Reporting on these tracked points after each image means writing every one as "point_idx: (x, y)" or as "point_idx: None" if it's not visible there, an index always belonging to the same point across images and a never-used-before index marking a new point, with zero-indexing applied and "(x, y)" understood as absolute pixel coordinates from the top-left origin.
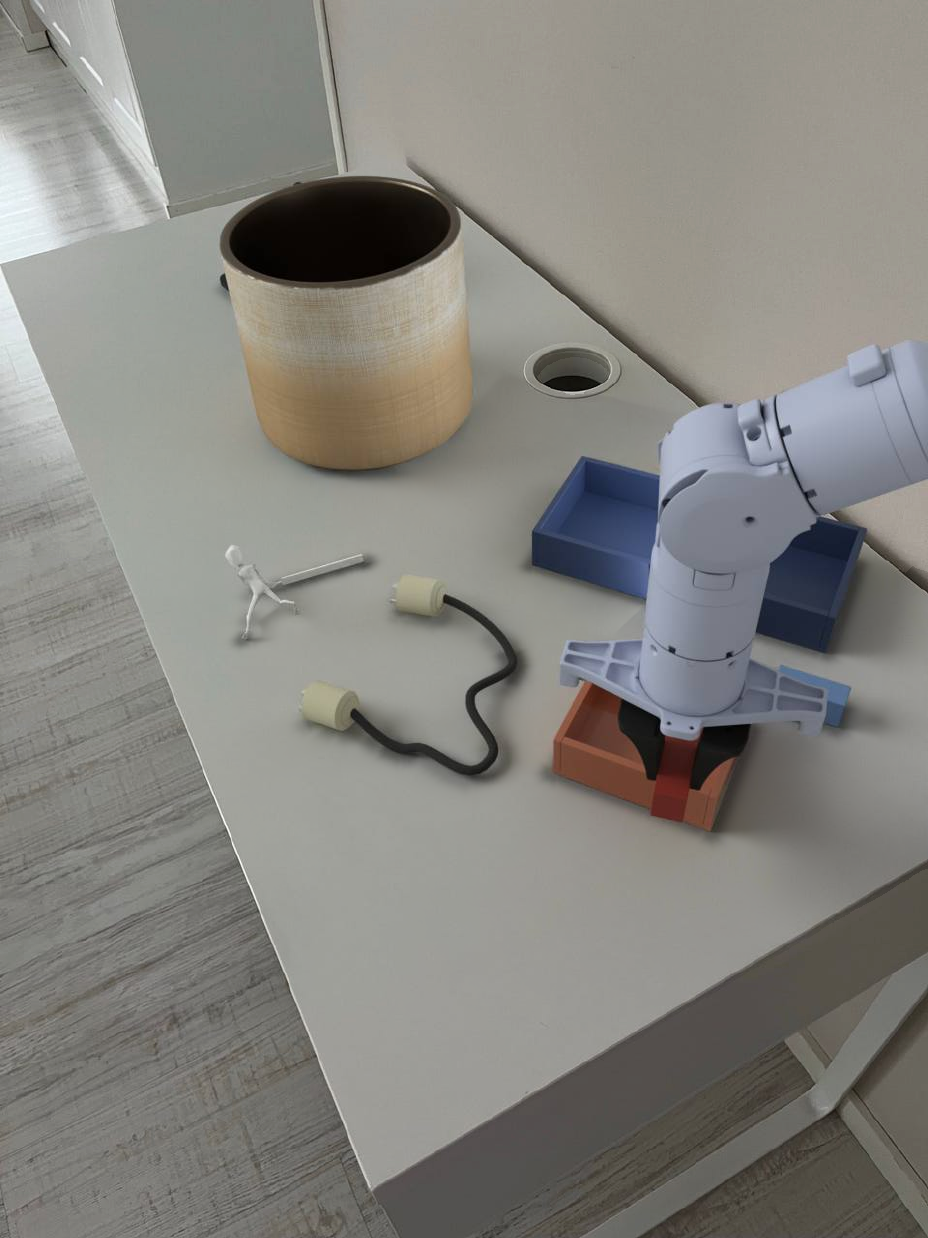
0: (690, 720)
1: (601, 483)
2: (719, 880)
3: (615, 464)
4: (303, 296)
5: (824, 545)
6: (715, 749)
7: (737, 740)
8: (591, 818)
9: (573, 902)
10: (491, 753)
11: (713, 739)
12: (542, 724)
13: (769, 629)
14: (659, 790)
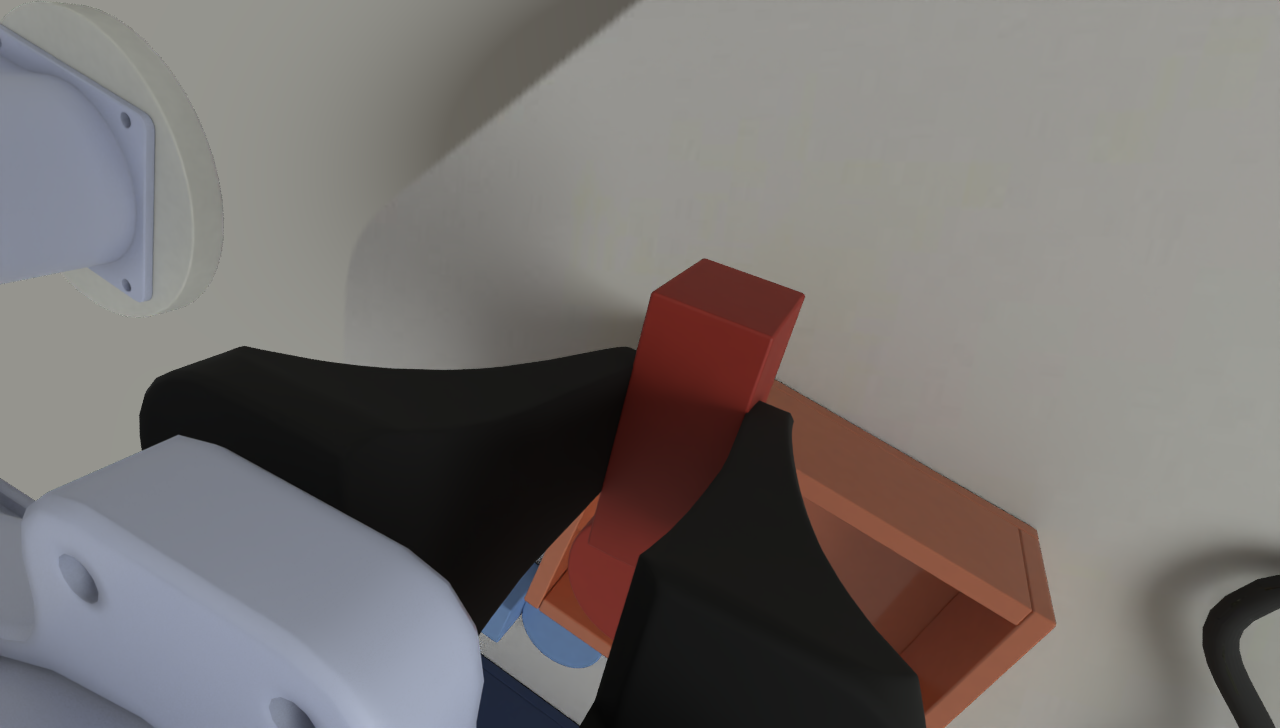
0: (114, 671)
1: None
2: (676, 204)
3: None
4: None
5: None
6: (300, 392)
7: (176, 424)
8: (955, 391)
9: (1067, 147)
10: (1237, 624)
11: (280, 456)
12: (1032, 657)
13: (524, 706)
14: (749, 341)
